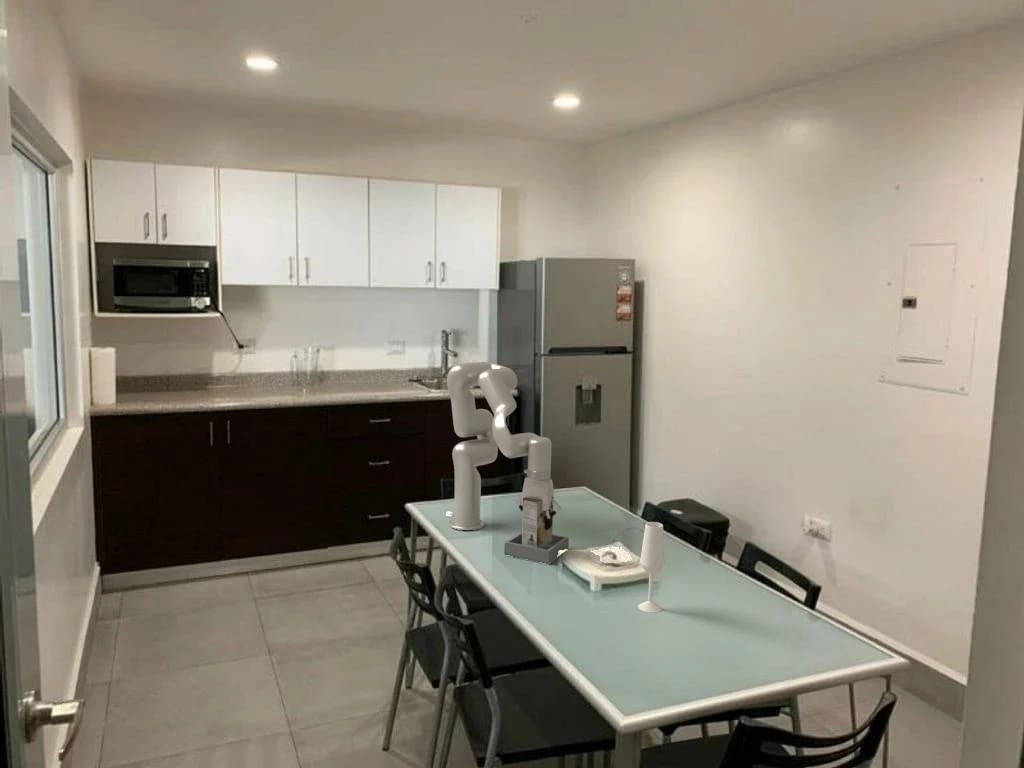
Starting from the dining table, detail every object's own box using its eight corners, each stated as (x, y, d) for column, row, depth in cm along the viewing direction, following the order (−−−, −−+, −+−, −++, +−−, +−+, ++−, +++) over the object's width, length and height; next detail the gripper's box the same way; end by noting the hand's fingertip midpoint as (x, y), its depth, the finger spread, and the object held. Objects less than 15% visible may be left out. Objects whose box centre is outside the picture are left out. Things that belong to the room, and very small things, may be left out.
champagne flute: (643, 613, 212) (648, 529, 209) (633, 603, 218) (637, 521, 215) (666, 611, 214) (671, 527, 211) (655, 601, 220) (659, 520, 217)
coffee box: (537, 537, 262) (538, 492, 260) (552, 542, 258) (554, 495, 256) (520, 544, 255) (522, 497, 253) (536, 549, 251) (538, 501, 249)
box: (504, 555, 254) (504, 542, 253) (525, 541, 268) (526, 529, 267) (548, 564, 246) (549, 551, 246) (568, 549, 261) (568, 537, 260)
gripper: (510, 473, 254) (508, 525, 257) (558, 481, 246) (556, 534, 249) (520, 469, 261) (519, 519, 263) (567, 476, 253) (566, 528, 255)
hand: (537, 526), depth 256 cm, fingers closed on coffee box, 7 cm apart
